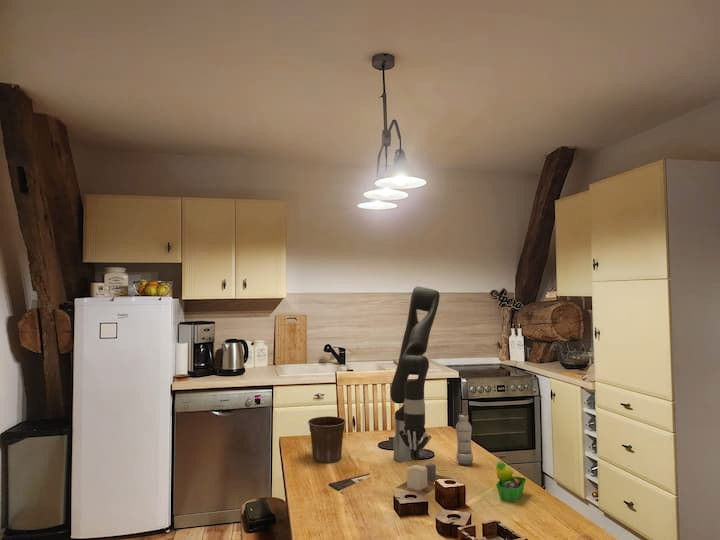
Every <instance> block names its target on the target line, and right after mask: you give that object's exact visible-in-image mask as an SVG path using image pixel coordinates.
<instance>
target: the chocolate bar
mask: <svg viewBox="0 0 720 540" xmlns="http://www.w3.org/2000/svg"><path fill="white" fill-rule="evenodd" d="M370 477H373V475H372V474H371V473H365V474H361V475H357V476H354V477H351V478H347V479H346V478H345V479H341V480H339V481H334V482H329V483H328V486H329V487H331V488H333V489H334V490H336V491H337V492H340V494H343V491H342V490H344V489H346V488H348V487H351V486H353V485H355V484H357V483H359V482H361V481H365V480H367V479H368V478H370ZM341 491H342V492H341Z"/></svg>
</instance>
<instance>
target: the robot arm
mask: <svg viewBox="0 0 720 540" xmlns="http://www.w3.org/2000/svg"><path fill="white" fill-rule="evenodd" d="M439 302H440V292H439V291H438V290H436V289H432V288H428V287H424V286H419V285H418V286H415V287H414V288H413V289H412V292H411V297H410V303H409V309H408V314H407V315H408V316H407V321H406V326H405V330H404V334H403V339H402V343H401V347H400V352H399V353H400V354H399V358H398V362H397V364H396V365H397V367H396V369H395V373H394V376H393V378H392V381H391V384H390V385H391V386H390V392H389V394H390V398H391V401H392V402H393V403H395V404H397V405H398V404H402V405H401V407H400V408H398V409H396V411H395V412H394V436H393V439H392V440H393V441H392V442H393V444H392V445H393V446H392V447H393V460H395V461H397V462H398V463H403V462H406V461H407V462H409V461H410V462H411V461H415V462H416V461H418V460H419V459H420V450H421V449H424V448H425V447H426V445H427V444H428V443H429V442H430V440H432V436H431V435H429V434H428V433H426V430H427V429H426V428H425V426H426V402H425V383H426V380H427V379H426V378H427V374H428V371H429V369H430V368H429V367H430V362H429V359H428V357H427V356H425V355H424V354H425V353H427V349H428V344H429V339H430V335H431V330H432V328H433V327H432V326H433V324H434V321H435V318H436V314H437V311H438V307H439ZM418 311H423V312H427V314H426V315H425V316H424V318H422V319H421V320H420V321H419V319H418V313H417V312H418ZM410 376H418V377H417V378H416V379H414V380H412V379H408V378H409V377H410Z"/></svg>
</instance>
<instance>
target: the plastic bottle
mask: <svg viewBox="0 0 720 540" xmlns="http://www.w3.org/2000/svg"><path fill="white" fill-rule="evenodd" d="M458 420H459V421H458V422H457V423H456V425H455V431H456V442H457V452H456V461H457V463H458V464H459V465H463V466H469V465H470V466H471V464H472V463H473V462H474V456H473V452H472V451H473V450H472V430H473V427H472V425H471V423H470V422H469V414H468V413H459V414H458Z"/></svg>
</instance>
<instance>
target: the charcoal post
mask: <svg viewBox="0 0 720 540" xmlns="http://www.w3.org/2000/svg"><path fill="white" fill-rule="evenodd" d="M436 466H437V465H436V464H435V463H431V462H430V463H429V462H428V463H427V464H426V465H425V467H426V468H427V480H428V481H434V480H436V474H437V473H436V470H437V469H436Z"/></svg>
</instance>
